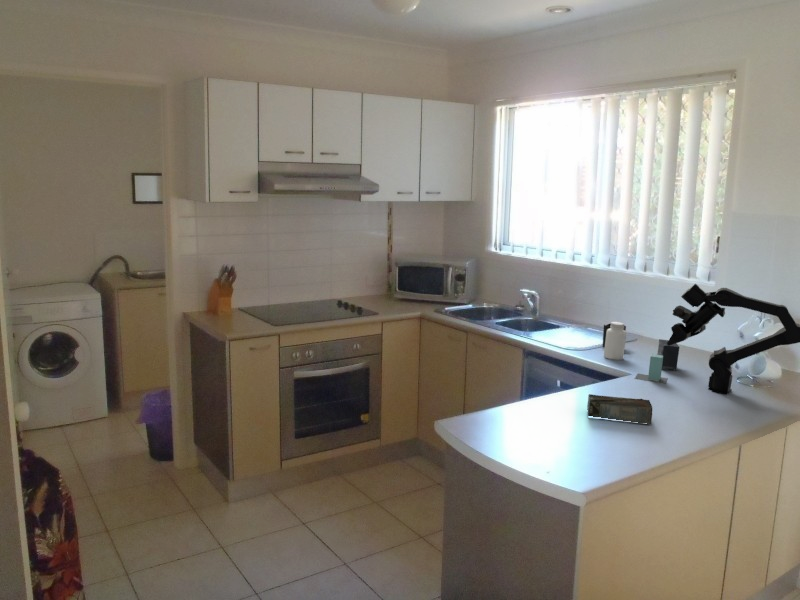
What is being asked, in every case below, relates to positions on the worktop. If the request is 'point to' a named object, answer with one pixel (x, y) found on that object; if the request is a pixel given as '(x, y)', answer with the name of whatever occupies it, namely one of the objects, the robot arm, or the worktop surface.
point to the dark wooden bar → (620, 408)
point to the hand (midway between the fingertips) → (672, 342)
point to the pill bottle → (615, 341)
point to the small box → (668, 355)
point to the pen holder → (606, 331)
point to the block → (655, 367)
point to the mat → (645, 378)
